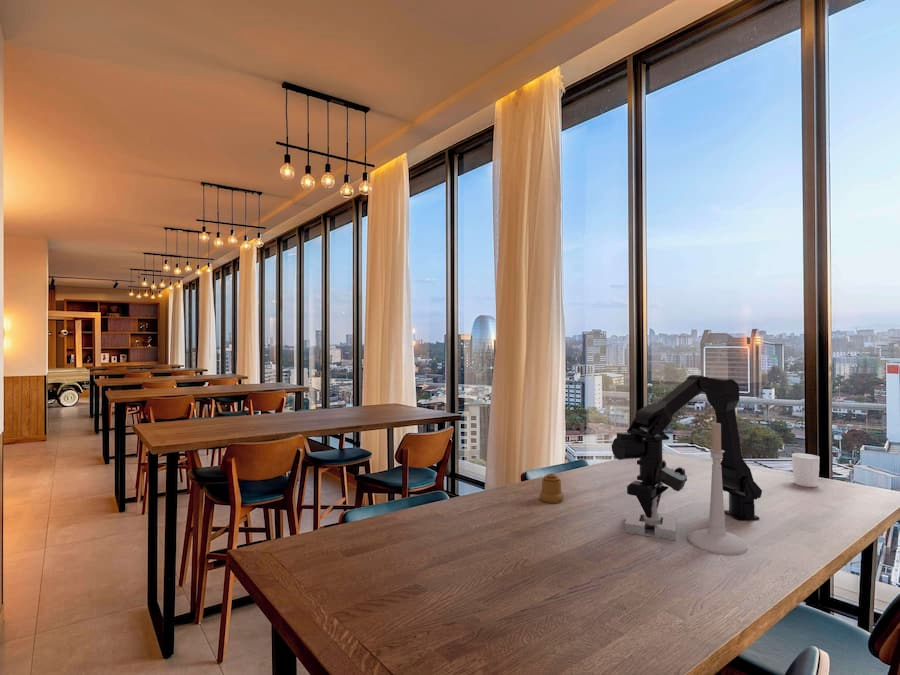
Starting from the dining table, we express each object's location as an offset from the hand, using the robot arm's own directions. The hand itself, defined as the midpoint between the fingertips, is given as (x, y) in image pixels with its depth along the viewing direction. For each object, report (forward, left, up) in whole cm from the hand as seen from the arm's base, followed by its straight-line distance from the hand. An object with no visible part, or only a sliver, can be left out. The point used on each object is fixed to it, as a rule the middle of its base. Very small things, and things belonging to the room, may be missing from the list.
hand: (651, 515), depth 130 cm
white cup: (-35, +73, -4) cm, 81 cm away
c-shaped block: (0, 0, -3) cm, 3 cm away
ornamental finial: (-25, -20, -4) cm, 32 cm away
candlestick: (+11, +11, -4) cm, 16 cm away
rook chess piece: (0, 0, -2) cm, 2 cm away
